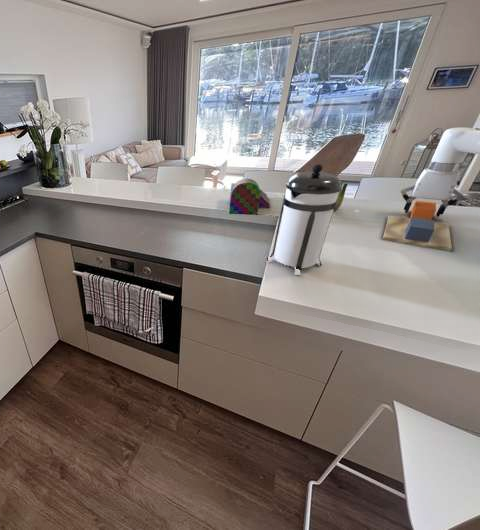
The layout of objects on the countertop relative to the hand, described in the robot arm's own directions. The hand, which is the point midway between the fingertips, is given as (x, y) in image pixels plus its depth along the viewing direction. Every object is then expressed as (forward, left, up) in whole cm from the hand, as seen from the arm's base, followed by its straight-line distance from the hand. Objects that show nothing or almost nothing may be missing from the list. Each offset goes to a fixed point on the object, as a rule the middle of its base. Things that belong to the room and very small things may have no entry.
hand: (421, 213), depth 109 cm
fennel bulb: (+28, +6, -1) cm, 29 cm away
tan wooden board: (+1, +18, -1) cm, 18 cm away
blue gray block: (+1, +24, -1) cm, 24 cm away
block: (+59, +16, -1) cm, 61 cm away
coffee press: (+28, +60, -1) cm, 66 cm away
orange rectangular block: (0, 0, -1) cm, 1 cm away
